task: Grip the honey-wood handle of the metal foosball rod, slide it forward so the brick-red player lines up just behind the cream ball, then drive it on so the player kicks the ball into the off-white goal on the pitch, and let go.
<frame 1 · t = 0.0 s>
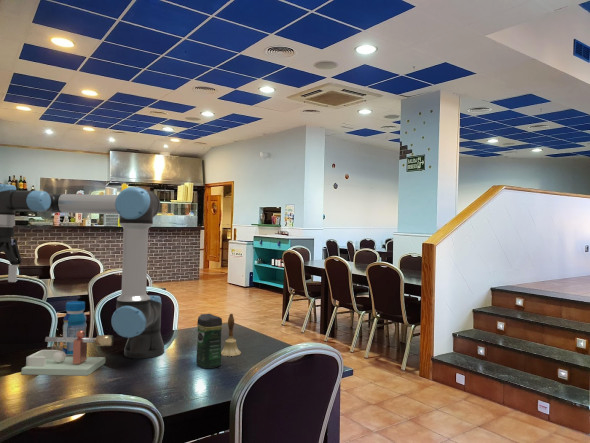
hand: (0, 284, 158), 28 cm above the table, tool pointing down, fingers open, 13 cm apart
hand bell: (230, 354, 174), on the table
pitch: (65, 368, 151), on the table
coffee jar: (208, 365, 159), on the table
player rod: (78, 345, 152), point 8 cm above the table, slide at 0.0 cm
beverage bottle: (73, 353, 169), on the table
ball: (59, 356, 151), point 4 cm above the table, touching pitch
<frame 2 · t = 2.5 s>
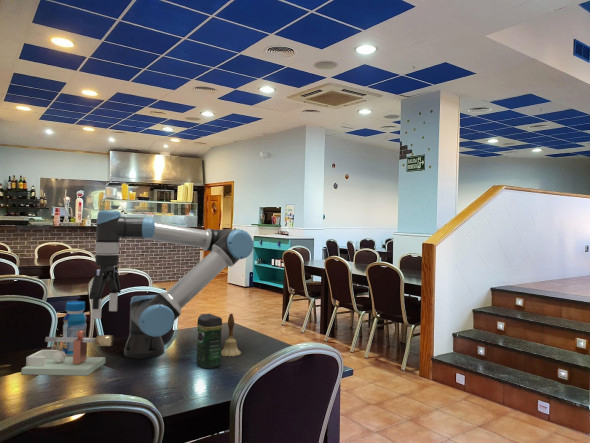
hand: (105, 314, 152), 19 cm above the table, tool pointing down, fingers open, 13 cm apart
nothing on the table moved.
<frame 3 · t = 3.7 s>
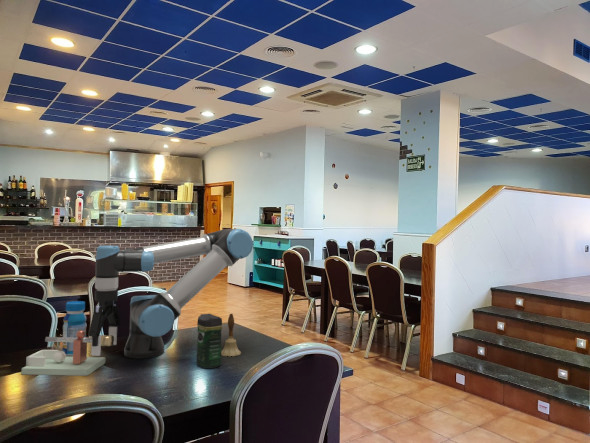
hand: (104, 349, 152), 7 cm above the table, tool pointing down, fingers open, 13 cm apart
nothing on the table moved.
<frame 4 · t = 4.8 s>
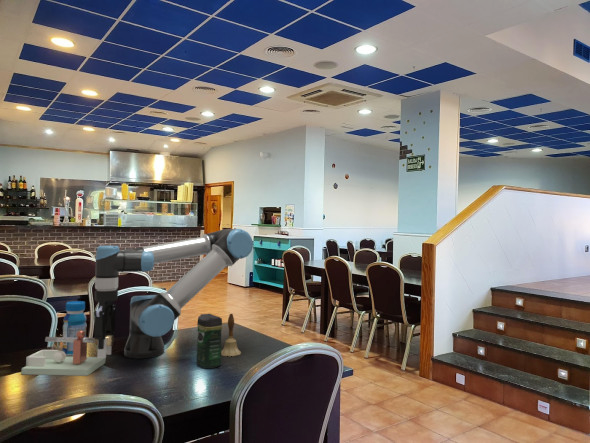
hand: (104, 355, 152), 5 cm above the table, tool pointing down, fingers closed on player rod, 4 cm apart
player rod: (78, 345, 152), point 8 cm above the table, slide at 0.0 cm, touching gripper
everything else where it was.
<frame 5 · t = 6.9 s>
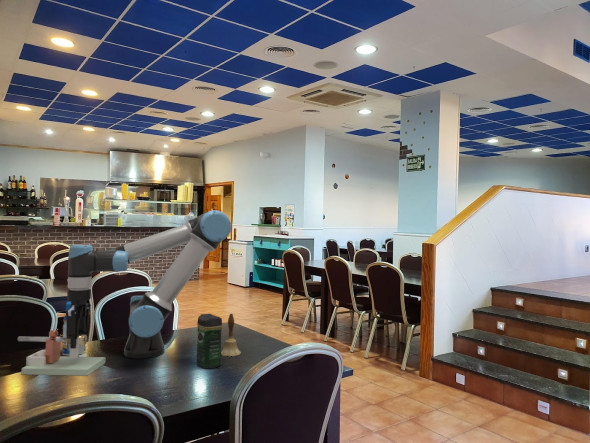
hand: (77, 355, 152), 5 cm above the table, tool pointing down, fingers closed on player rod, 4 cm apart
player rod: (51, 345, 152), point 8 cm above the table, slide at 9.5 cm, touching gripper
ball: (42, 356, 151), point 4 cm above the table, tilted 157°, touching pitch
everything else where it was.
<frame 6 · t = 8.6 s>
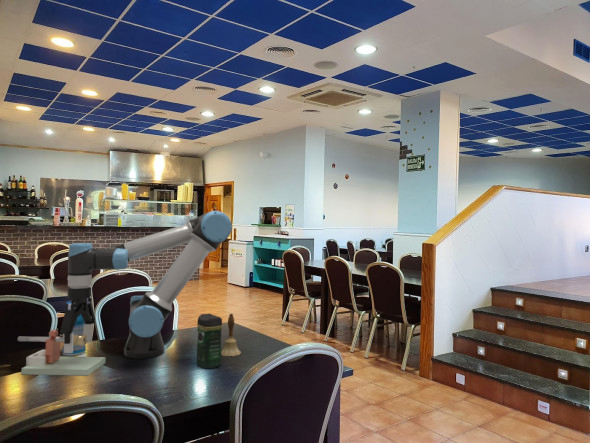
hand: (78, 347, 152), 7 cm above the table, tool pointing down, fingers open, 13 cm apart
player rod: (51, 345, 152), point 8 cm above the table, slide at 9.5 cm
everything else where it was.
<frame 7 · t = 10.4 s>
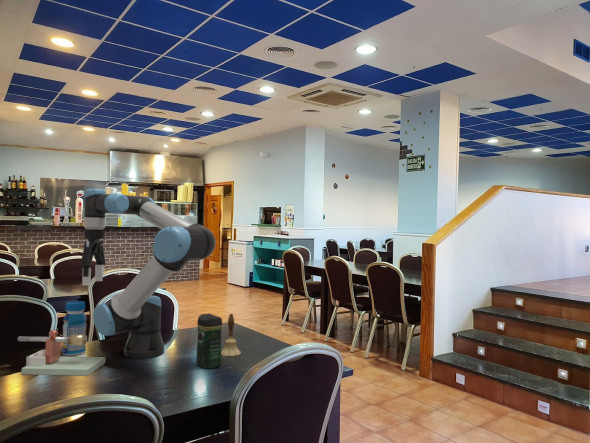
hand: (92, 283, 168), 28 cm above the table, tool pointing down, fingers open, 13 cm apart
nothing on the table moved.
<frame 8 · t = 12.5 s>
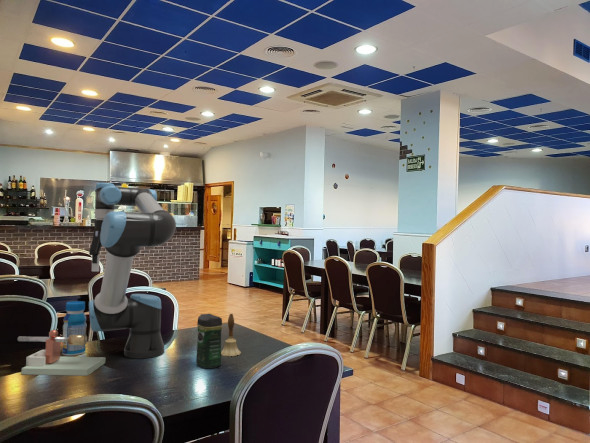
hand: (102, 269, 182), 32 cm above the table, tool pointing down, fingers open, 13 cm apart
nothing on the table moved.
at the end: ball 0.2 cm from the target spot, point 4.0 cm above the table; player rod slide at 9.5 cm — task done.
